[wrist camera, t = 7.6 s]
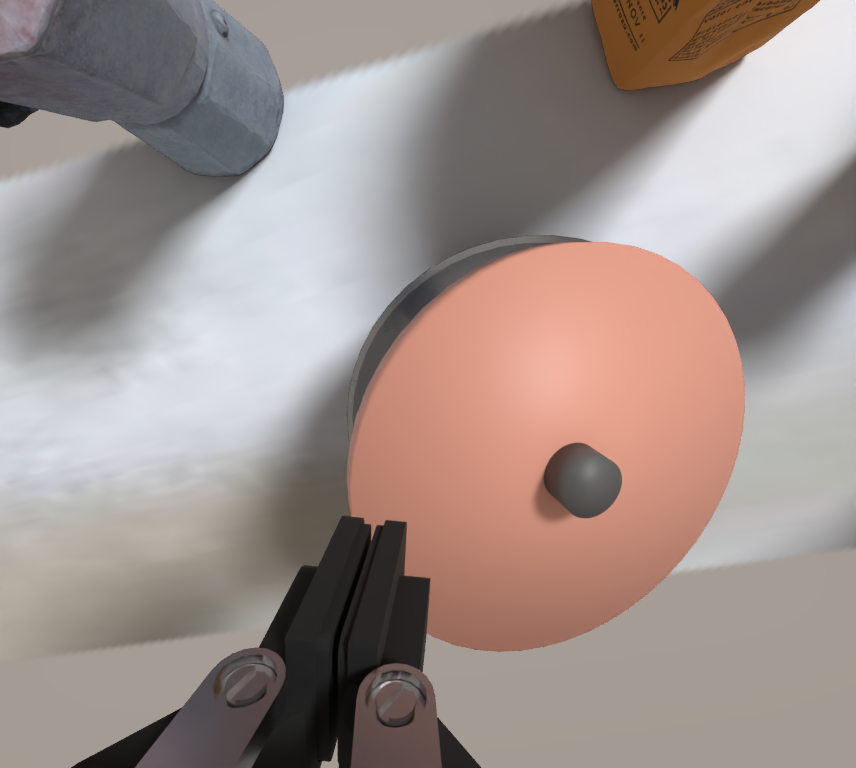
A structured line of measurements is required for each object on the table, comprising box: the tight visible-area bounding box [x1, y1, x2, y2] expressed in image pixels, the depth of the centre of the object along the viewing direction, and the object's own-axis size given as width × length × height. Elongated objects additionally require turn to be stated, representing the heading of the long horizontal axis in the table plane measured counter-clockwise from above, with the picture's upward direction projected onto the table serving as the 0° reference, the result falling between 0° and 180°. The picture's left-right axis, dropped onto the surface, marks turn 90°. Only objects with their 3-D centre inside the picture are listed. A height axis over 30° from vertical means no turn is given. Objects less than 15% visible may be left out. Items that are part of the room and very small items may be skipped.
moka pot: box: [0, 0, 284, 176], centre depth 19 cm, size 10×15×20 cm, turn 127°
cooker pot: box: [347, 235, 590, 441], centre depth 27 cm, size 18×18×10 cm
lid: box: [347, 242, 745, 652], centre depth 18 cm, size 17×17×3 cm
